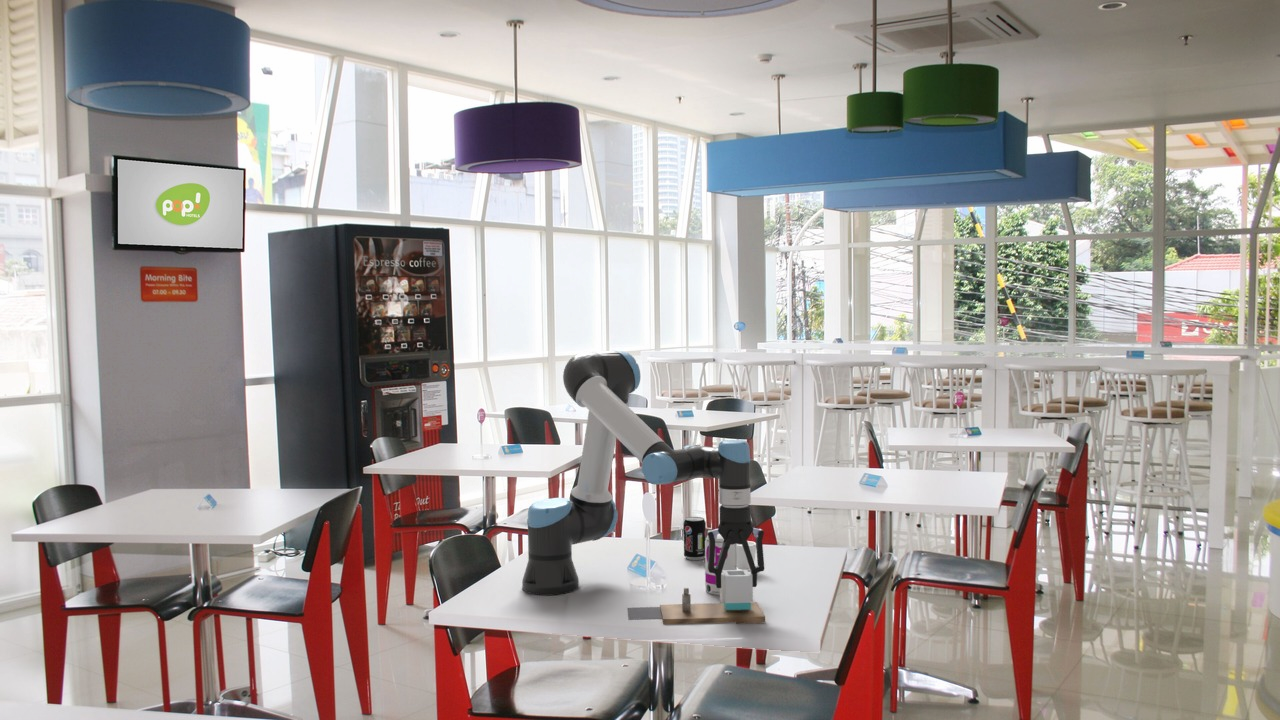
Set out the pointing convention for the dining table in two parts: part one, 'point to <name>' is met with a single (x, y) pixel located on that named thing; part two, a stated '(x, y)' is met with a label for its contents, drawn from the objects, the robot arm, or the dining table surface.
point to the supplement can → (728, 565)
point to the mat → (644, 613)
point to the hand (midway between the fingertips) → (736, 600)
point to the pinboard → (708, 613)
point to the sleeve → (737, 589)
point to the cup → (744, 556)
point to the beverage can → (694, 538)
